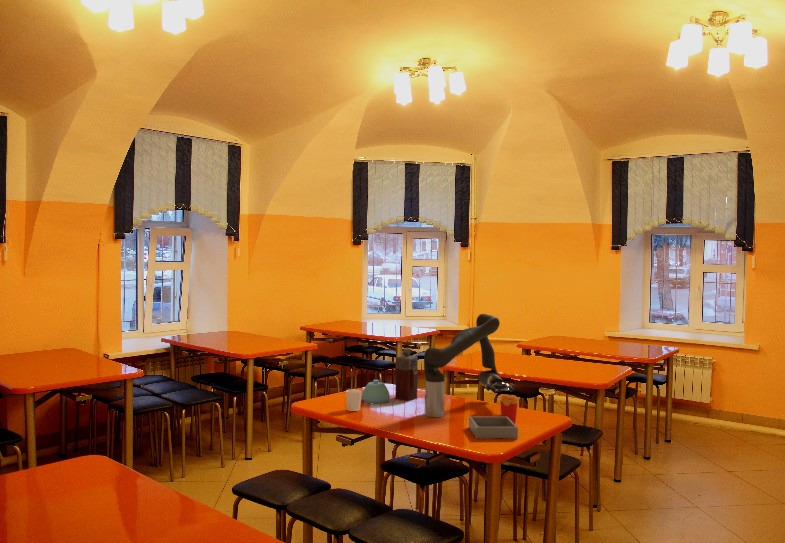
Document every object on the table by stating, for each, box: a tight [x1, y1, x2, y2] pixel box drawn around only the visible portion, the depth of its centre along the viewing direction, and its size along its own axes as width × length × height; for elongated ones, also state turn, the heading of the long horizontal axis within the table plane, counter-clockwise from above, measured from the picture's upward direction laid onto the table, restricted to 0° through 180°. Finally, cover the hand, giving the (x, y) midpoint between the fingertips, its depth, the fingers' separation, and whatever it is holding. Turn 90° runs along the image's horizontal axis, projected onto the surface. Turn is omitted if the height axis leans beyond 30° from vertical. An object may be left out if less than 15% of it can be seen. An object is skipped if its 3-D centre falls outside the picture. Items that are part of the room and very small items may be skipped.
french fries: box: [499, 393, 518, 424], centre depth 296 cm, size 9×4×13 cm, turn 40°
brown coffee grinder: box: [394, 347, 419, 402], centre depth 340 cm, size 9×11×28 cm
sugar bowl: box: [361, 379, 391, 405], centre depth 335 cm, size 15×15×12 cm
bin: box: [468, 416, 519, 440], centre depth 277 cm, size 18×18×5 cm
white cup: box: [345, 388, 362, 412], centre depth 314 cm, size 8×8×10 cm
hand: (503, 390), depth 308 cm, fingers open, 8 cm apart
